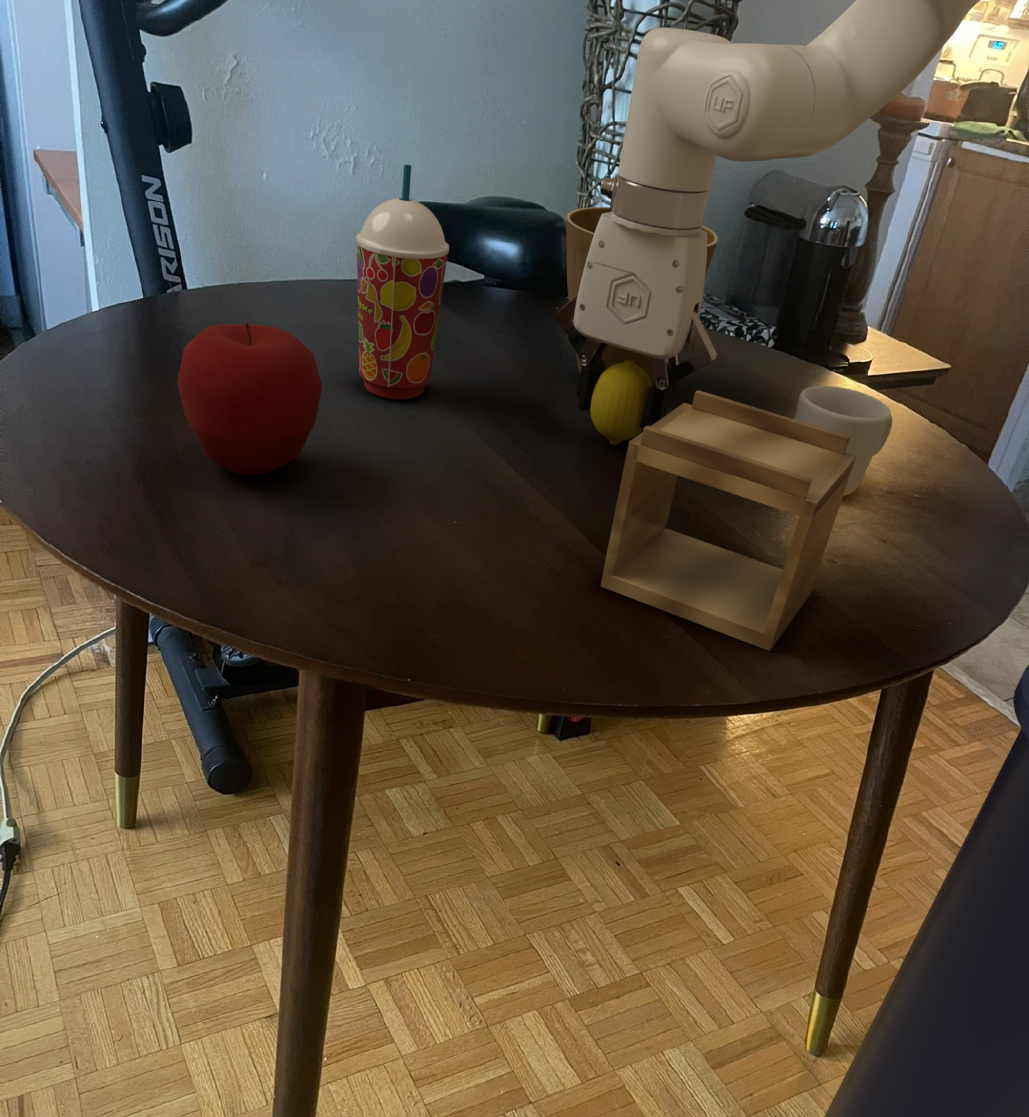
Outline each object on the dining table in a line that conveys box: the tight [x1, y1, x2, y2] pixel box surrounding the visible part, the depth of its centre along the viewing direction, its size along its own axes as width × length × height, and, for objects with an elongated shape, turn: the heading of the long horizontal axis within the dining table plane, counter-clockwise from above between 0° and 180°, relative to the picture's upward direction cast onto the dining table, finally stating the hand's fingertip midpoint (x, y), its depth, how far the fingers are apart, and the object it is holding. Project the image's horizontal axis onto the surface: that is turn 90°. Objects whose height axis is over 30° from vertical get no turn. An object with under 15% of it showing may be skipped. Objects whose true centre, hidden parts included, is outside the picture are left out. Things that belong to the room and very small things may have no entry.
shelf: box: [600, 390, 856, 652], centre depth 75 cm, size 13×10×12 cm
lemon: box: [590, 360, 652, 446], centre depth 97 cm, size 6×6×8 cm
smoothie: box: [355, 163, 450, 400], centre depth 98 cm, size 8×8×20 cm
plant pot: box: [565, 206, 719, 385], centre depth 108 cm, size 15×15×16 cm
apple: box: [176, 320, 323, 476], centre depth 83 cm, size 11×11×12 cm
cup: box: [794, 385, 894, 497], centre depth 96 cm, size 11×8×8 cm
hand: (619, 414), depth 98 cm, fingers closed on lemon, 5 cm apart
